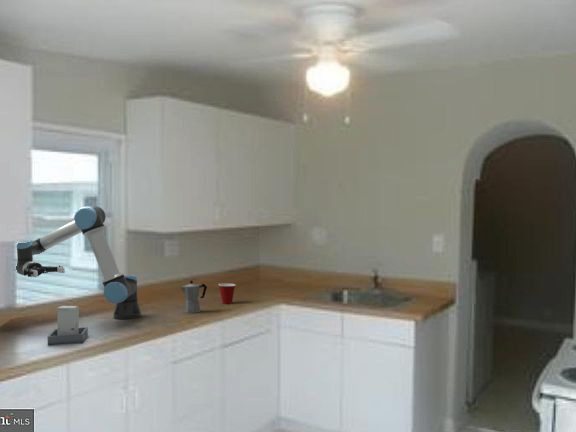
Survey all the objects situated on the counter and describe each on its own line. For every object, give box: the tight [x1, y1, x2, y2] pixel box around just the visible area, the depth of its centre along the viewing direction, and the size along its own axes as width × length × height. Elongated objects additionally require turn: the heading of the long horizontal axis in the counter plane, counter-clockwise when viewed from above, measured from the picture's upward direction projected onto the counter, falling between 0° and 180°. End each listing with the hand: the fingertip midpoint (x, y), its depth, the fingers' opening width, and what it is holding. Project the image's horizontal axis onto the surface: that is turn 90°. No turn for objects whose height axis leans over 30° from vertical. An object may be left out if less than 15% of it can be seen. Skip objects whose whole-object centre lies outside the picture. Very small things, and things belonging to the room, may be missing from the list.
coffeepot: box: [179, 280, 208, 314], centre depth 332 cm, size 15×9×18 cm, turn 110°
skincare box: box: [56, 305, 80, 336], centre depth 270 cm, size 8×6×15 cm
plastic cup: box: [218, 283, 237, 305], centre depth 356 cm, size 11×11×12 cm
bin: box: [47, 326, 89, 346], centre depth 270 cm, size 15×15×4 cm
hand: (50, 272), depth 289 cm, fingers open, 13 cm apart
